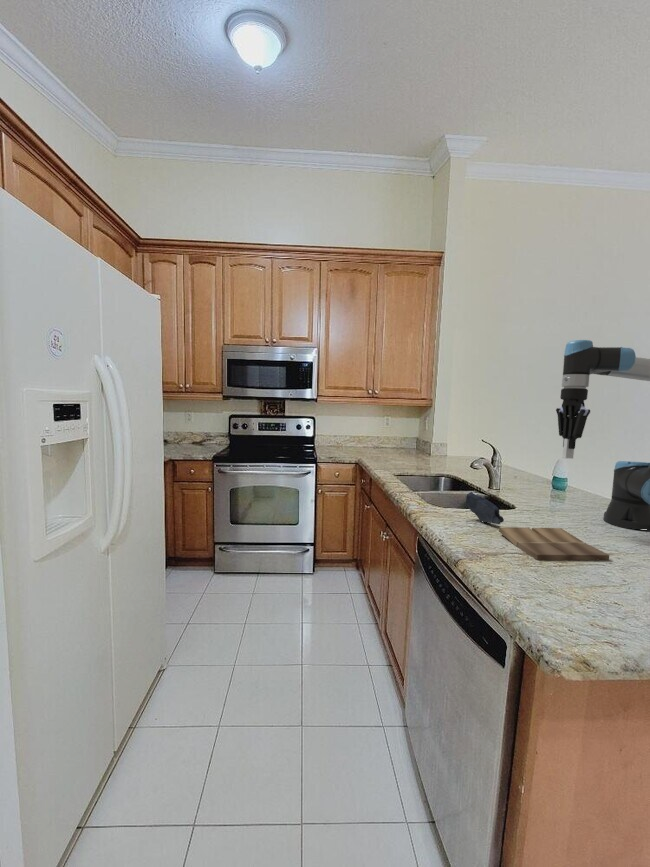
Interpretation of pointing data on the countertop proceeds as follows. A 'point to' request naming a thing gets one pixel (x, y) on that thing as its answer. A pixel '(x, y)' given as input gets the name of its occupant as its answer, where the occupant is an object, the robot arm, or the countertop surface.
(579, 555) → the floor board
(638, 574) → the countertop surface
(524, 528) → the plank
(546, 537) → the plank
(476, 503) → the stone
